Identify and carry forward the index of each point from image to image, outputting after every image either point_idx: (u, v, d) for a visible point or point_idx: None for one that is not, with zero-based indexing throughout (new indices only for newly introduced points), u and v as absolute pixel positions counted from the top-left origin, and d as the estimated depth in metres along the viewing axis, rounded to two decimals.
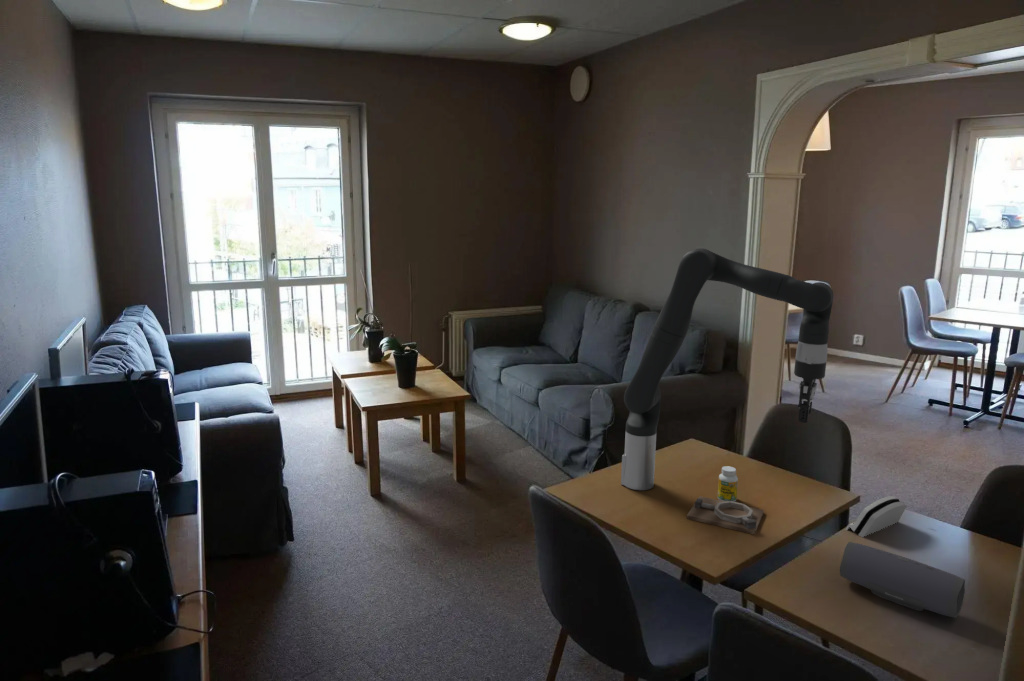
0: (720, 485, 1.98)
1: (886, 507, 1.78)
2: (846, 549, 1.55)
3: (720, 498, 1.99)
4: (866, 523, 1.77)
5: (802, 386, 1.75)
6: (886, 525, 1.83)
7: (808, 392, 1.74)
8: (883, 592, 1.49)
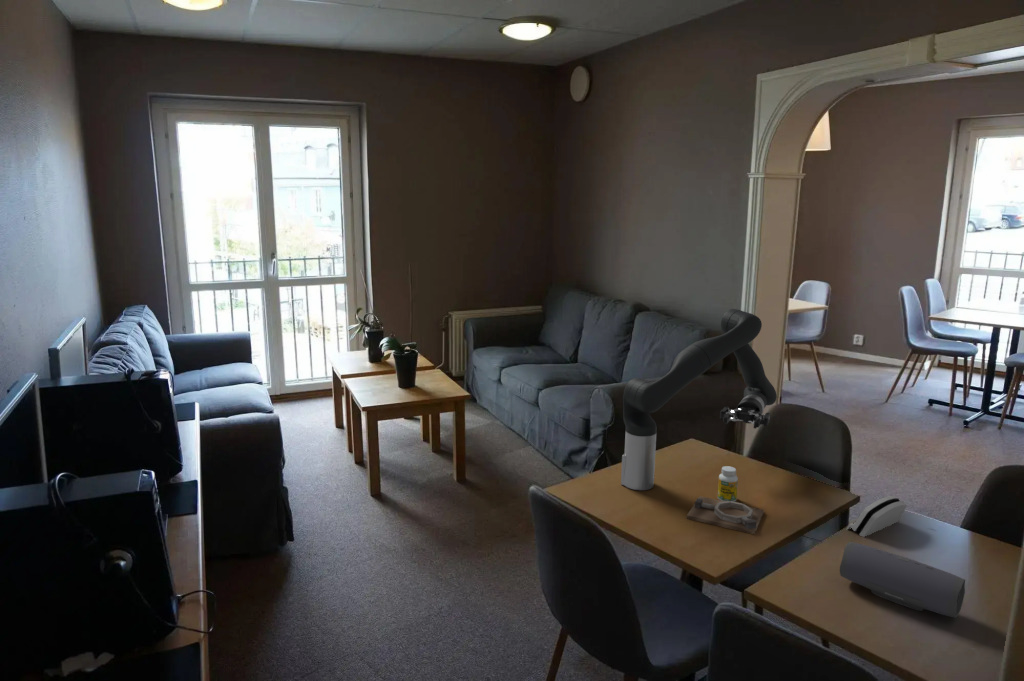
0: (720, 485, 1.98)
1: (887, 507, 1.78)
2: (846, 549, 1.55)
3: (720, 498, 1.99)
4: (867, 523, 1.78)
5: None
6: (886, 525, 1.83)
7: None
8: (883, 592, 1.49)
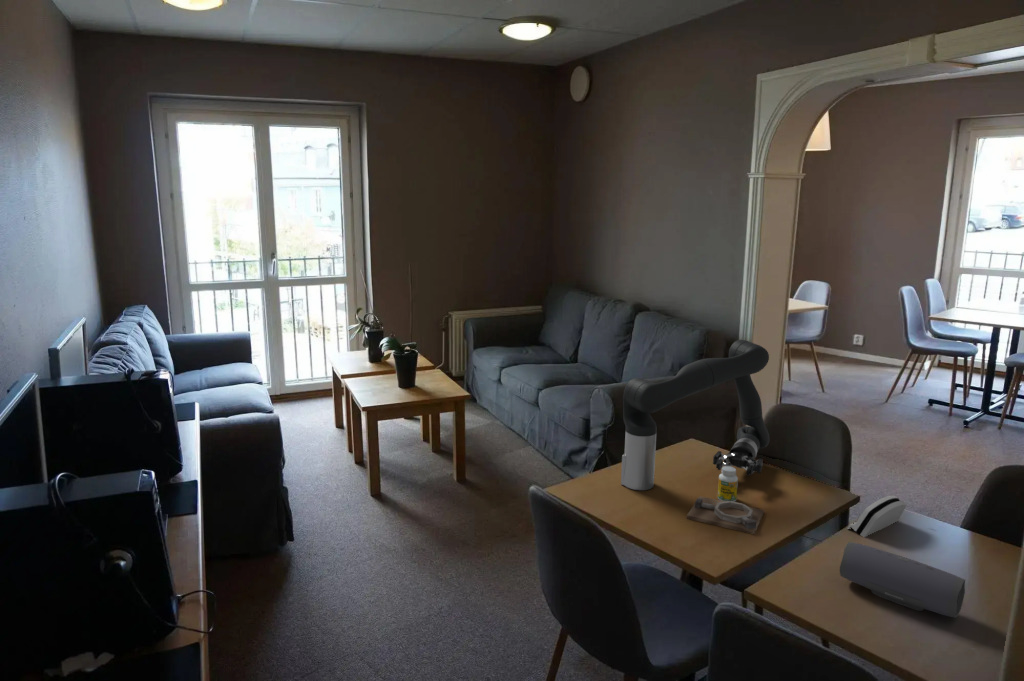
0: (720, 485, 1.98)
1: (887, 507, 1.78)
2: (846, 549, 1.55)
3: (720, 498, 1.99)
4: (868, 523, 1.78)
5: None
6: (886, 524, 1.83)
7: None
8: (883, 592, 1.49)
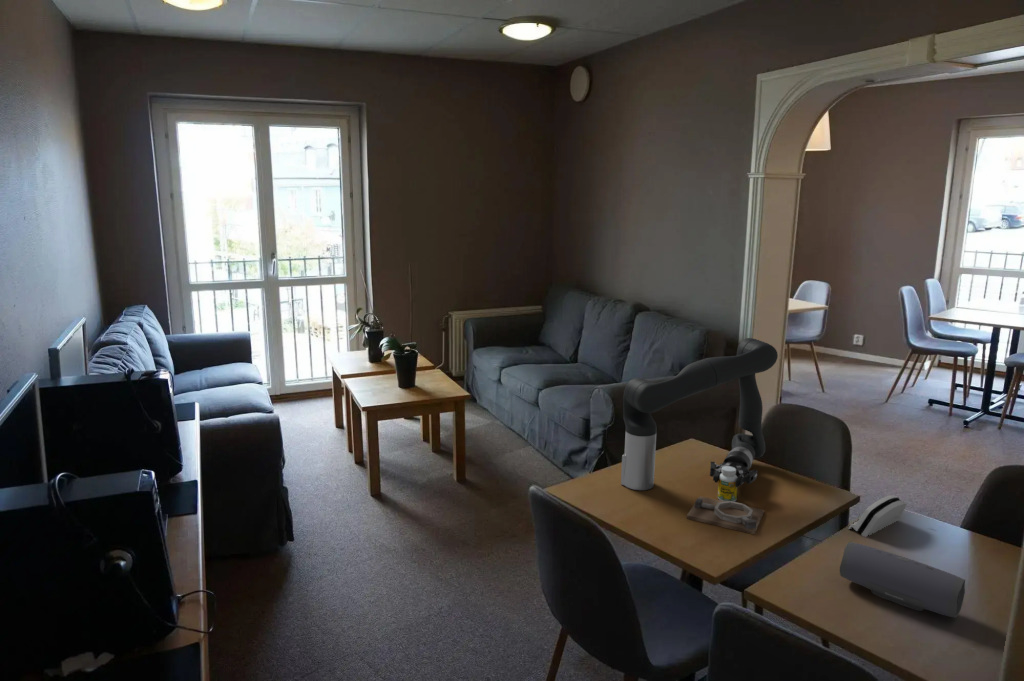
0: (720, 485, 1.98)
1: (888, 506, 1.78)
2: (846, 549, 1.55)
3: (720, 498, 1.99)
4: (869, 523, 1.78)
5: None
6: (887, 524, 1.84)
7: (755, 478, 2.01)
8: (883, 592, 1.49)
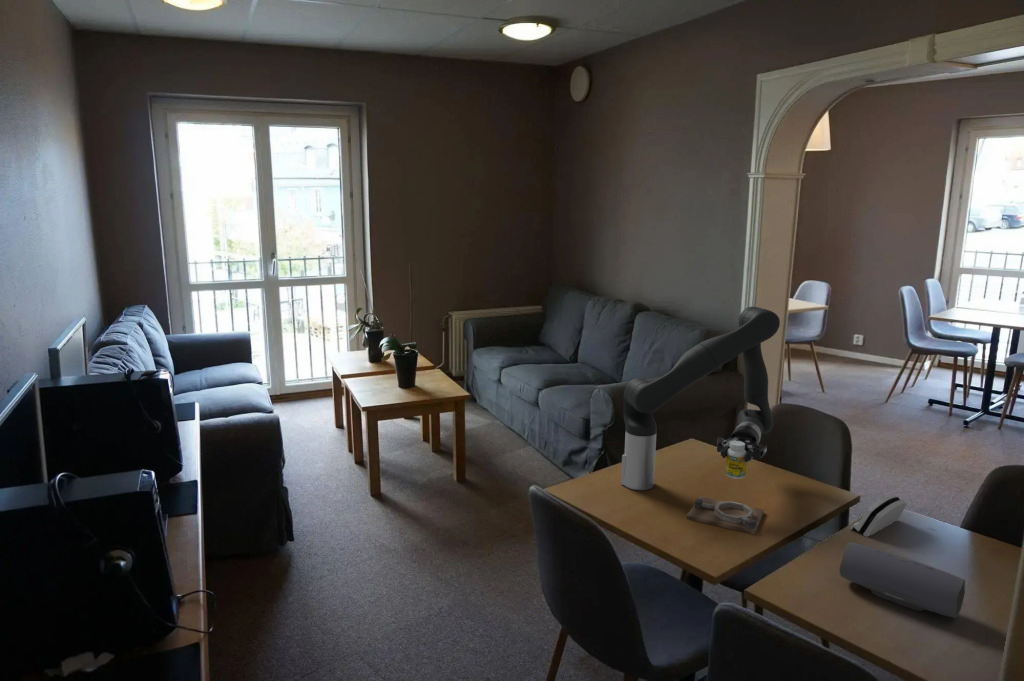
0: (728, 460, 1.87)
1: (889, 506, 1.79)
2: (846, 549, 1.55)
3: (728, 474, 1.88)
4: (871, 523, 1.78)
5: None
6: (888, 524, 1.84)
7: (765, 453, 1.90)
8: (883, 592, 1.49)
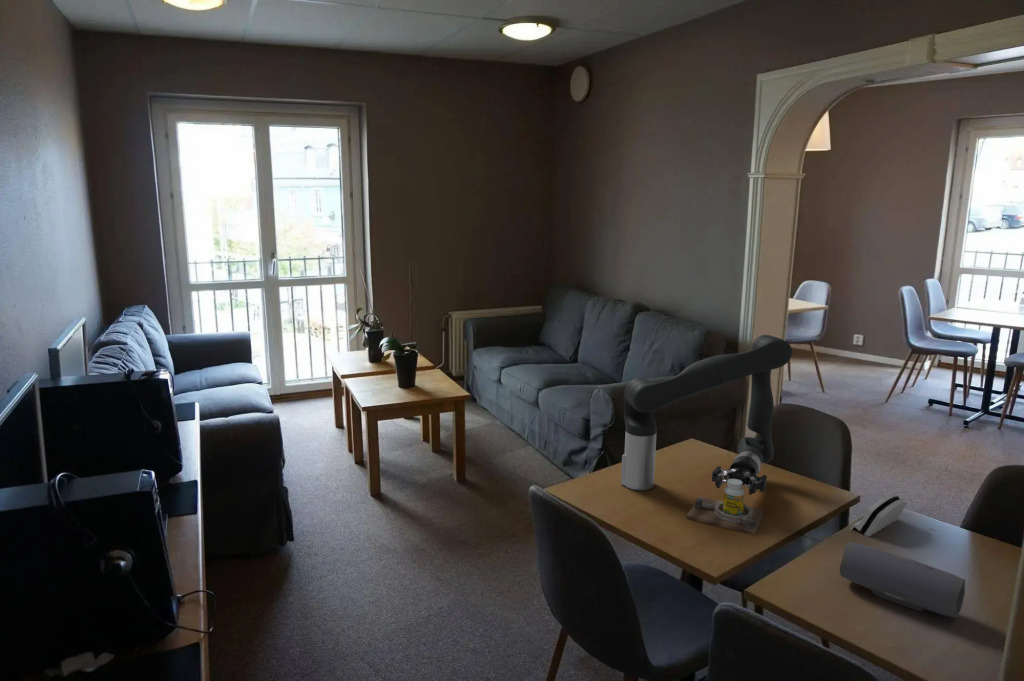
0: (726, 499, 1.87)
1: (890, 505, 1.79)
2: (846, 549, 1.55)
3: (726, 513, 1.87)
4: (872, 522, 1.78)
5: None
6: (888, 523, 1.84)
7: None
8: (883, 592, 1.49)
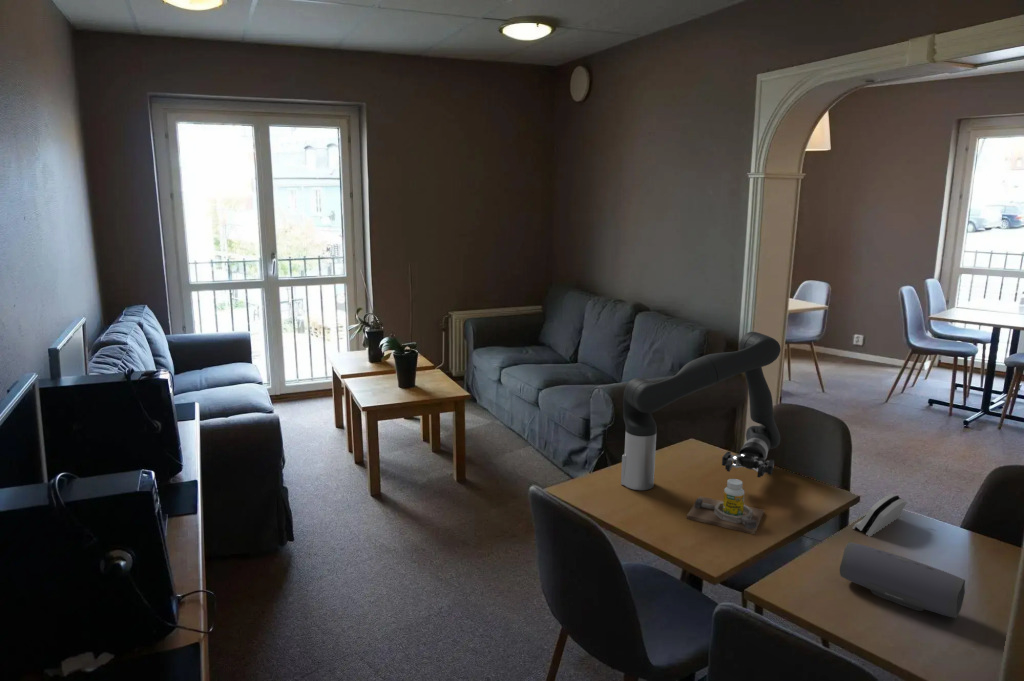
0: (726, 499, 1.87)
1: (891, 505, 1.79)
2: (846, 549, 1.55)
3: (726, 513, 1.87)
4: (873, 522, 1.78)
5: None
6: (889, 522, 1.84)
7: None
8: (883, 592, 1.49)
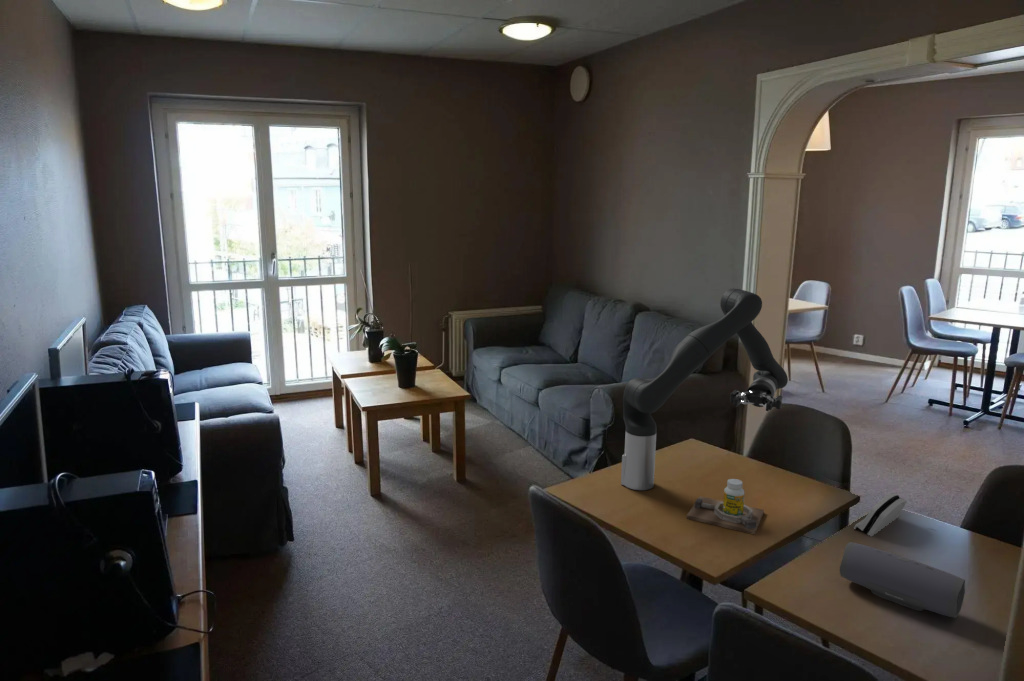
0: (726, 499, 1.87)
1: (892, 505, 1.79)
2: (846, 549, 1.55)
3: (726, 513, 1.87)
4: (875, 522, 1.78)
5: None
6: (889, 522, 1.85)
7: (781, 403, 2.01)
8: (883, 592, 1.49)
